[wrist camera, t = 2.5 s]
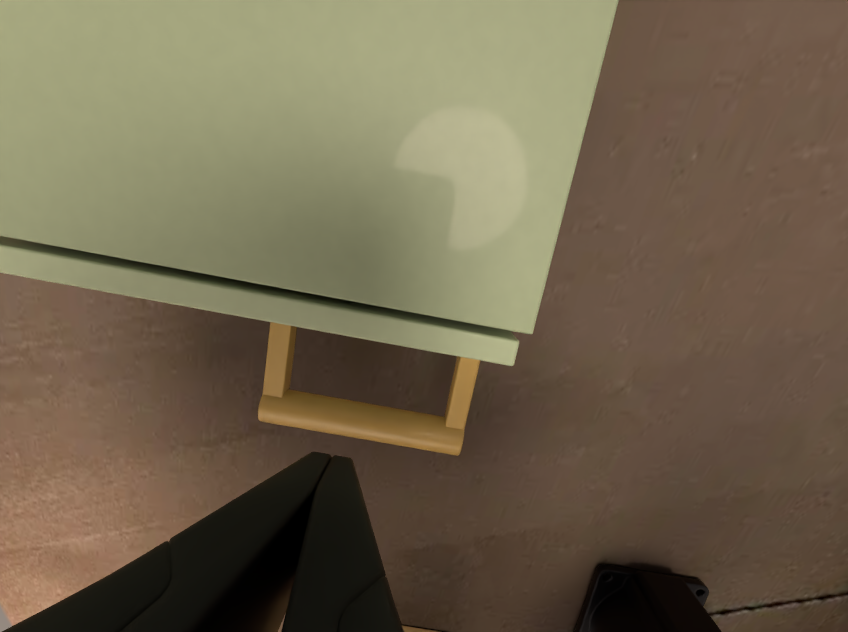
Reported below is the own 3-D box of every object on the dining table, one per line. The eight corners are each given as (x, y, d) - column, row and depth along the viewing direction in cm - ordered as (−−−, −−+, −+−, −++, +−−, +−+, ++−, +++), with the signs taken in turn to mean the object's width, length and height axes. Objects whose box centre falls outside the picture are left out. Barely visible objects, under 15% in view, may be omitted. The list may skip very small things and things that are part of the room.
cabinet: (486, 289, 19) (532, 335, 11) (158, 227, 19) (-62, 224, 10) (542, 40, 17) (657, -148, 8) (169, -39, 16) (-106, -326, 8)
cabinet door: (456, 409, 20) (475, 519, 12) (147, 354, 19) (-33, 434, 12) (482, 296, 19) (520, 341, 11) (151, 233, 18) (-47, 236, 11)
